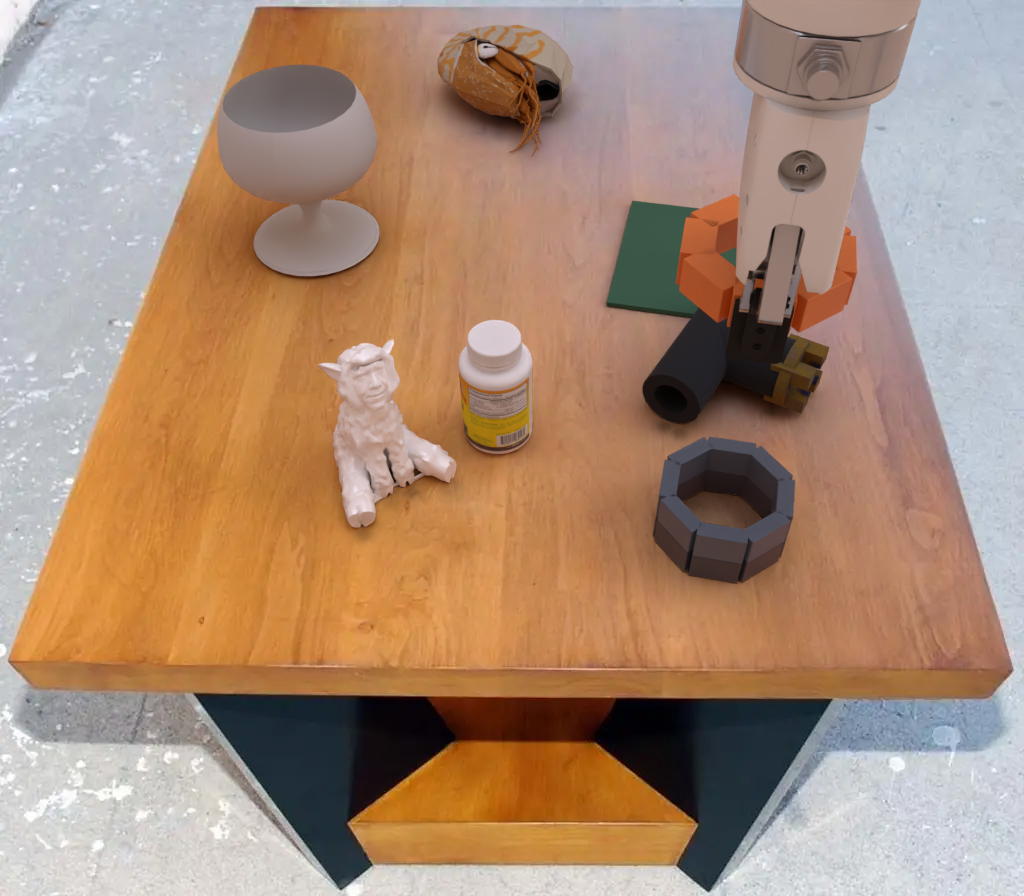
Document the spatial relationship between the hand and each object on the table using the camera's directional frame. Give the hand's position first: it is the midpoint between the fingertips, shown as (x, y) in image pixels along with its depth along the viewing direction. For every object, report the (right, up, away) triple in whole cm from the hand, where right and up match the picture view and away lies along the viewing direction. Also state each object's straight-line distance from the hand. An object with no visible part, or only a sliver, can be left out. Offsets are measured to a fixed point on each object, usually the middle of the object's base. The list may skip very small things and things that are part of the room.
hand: (754, 339), depth 59 cm
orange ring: (+1, +4, +1) cm, 4 cm away
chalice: (-33, +14, +39) cm, 53 cm away
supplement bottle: (-15, -5, +21) cm, 27 cm away
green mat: (+4, +11, +35) cm, 37 cm away
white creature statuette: (-25, -8, +19) cm, 32 cm away
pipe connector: (+5, -1, +25) cm, 25 cm away
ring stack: (+1, -12, +15) cm, 19 cm away
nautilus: (-15, +31, +53) cm, 63 cm away
